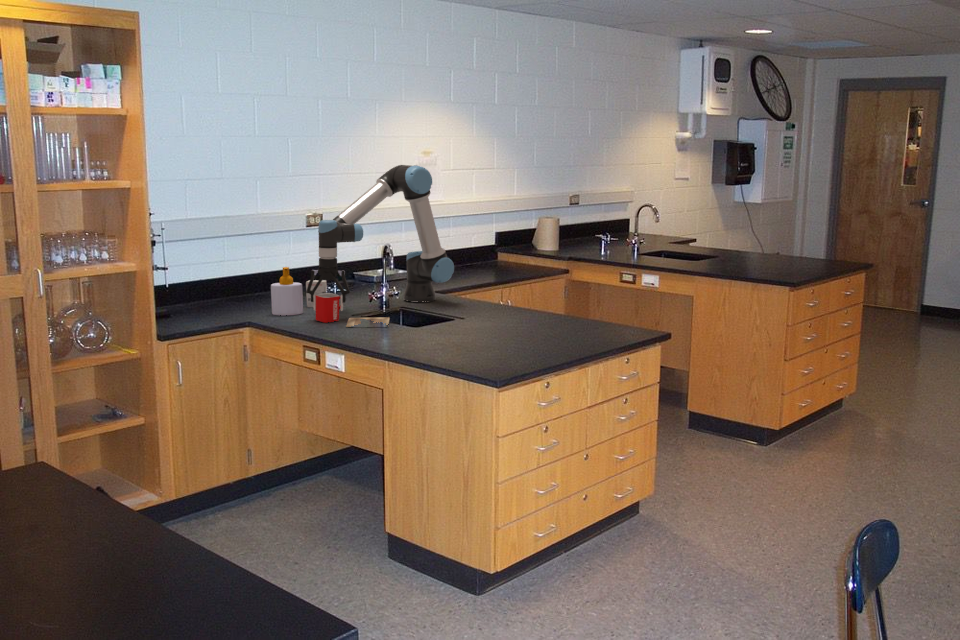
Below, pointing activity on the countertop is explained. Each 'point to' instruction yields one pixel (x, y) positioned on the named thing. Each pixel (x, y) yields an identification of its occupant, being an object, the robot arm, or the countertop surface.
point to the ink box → (320, 290)
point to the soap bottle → (286, 296)
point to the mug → (327, 307)
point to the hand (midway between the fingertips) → (328, 310)
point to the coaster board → (377, 319)
